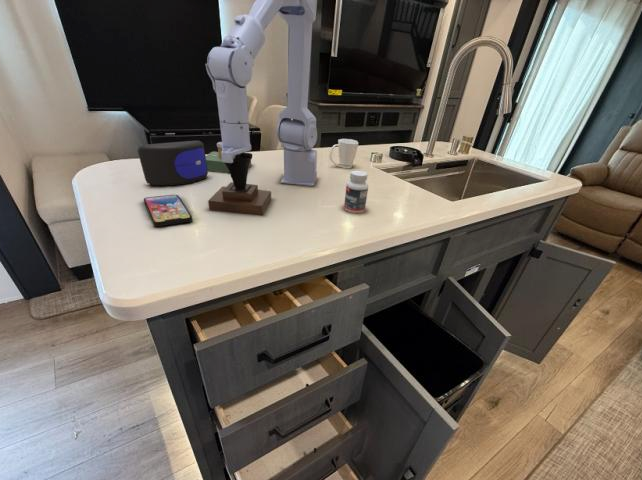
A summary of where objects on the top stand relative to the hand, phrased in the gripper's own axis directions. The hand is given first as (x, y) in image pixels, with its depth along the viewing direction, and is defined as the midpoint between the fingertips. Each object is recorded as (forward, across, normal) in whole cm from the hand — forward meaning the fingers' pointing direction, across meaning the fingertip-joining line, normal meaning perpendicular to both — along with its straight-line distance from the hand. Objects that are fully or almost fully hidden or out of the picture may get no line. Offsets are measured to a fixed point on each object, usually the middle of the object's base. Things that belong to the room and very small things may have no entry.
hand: (240, 187), depth 74 cm
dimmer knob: (+1, -28, -12) cm, 30 cm away
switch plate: (+4, 0, 0) cm, 4 cm away
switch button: (+2, 0, 0) cm, 2 cm away
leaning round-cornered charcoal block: (+4, -12, -20) cm, 24 cm away
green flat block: (+4, -28, -12) cm, 31 cm away
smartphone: (+4, +8, -14) cm, 17 cm away
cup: (+4, -42, +23) cm, 48 cm away
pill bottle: (+4, -4, +27) cm, 28 cm away
